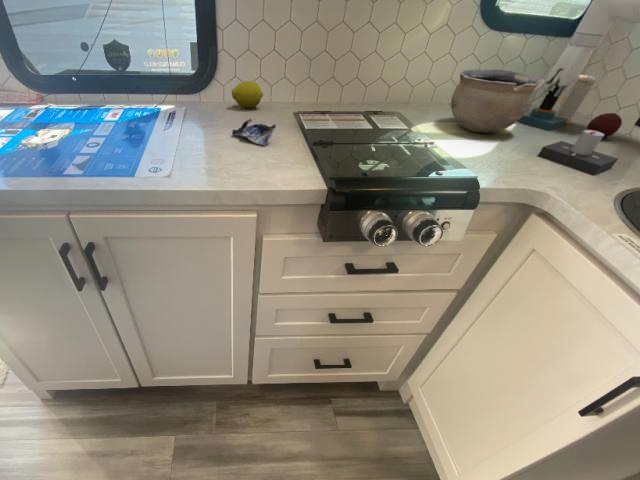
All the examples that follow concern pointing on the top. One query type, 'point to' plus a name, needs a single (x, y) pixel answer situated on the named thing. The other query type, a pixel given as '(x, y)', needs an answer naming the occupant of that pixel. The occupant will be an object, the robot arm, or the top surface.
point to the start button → (544, 110)
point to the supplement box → (574, 97)
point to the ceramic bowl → (492, 99)
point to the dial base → (577, 158)
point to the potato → (605, 124)
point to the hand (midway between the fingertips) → (544, 108)
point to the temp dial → (587, 142)
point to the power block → (542, 119)
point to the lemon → (247, 94)
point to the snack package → (255, 132)
